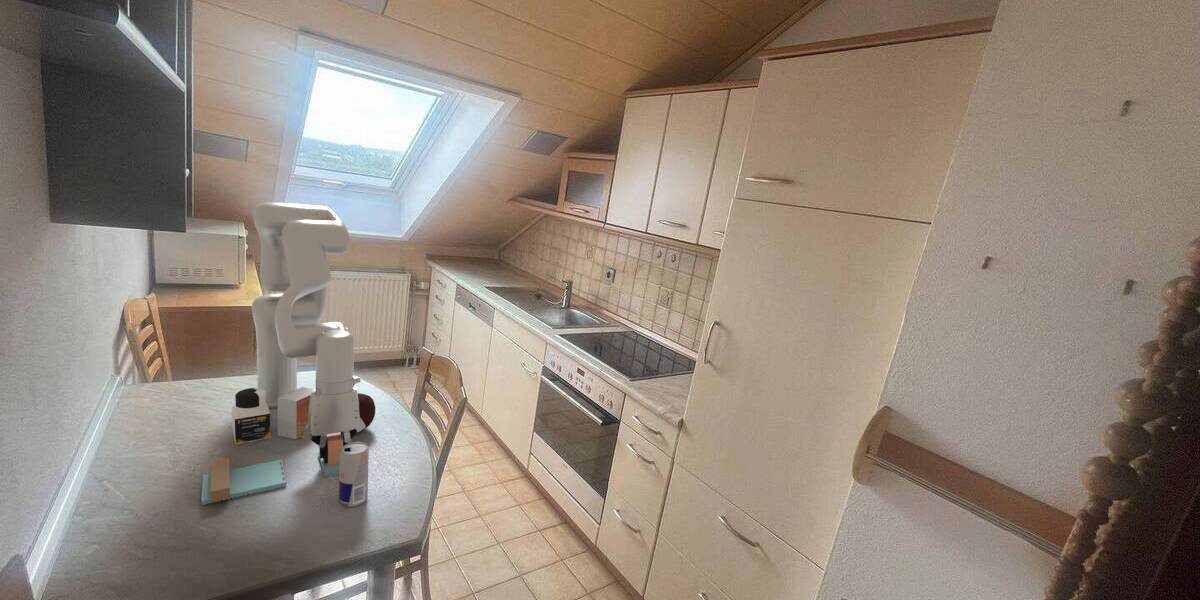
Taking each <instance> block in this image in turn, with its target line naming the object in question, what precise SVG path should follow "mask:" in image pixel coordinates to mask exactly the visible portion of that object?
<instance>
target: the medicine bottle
mask: <svg viewBox="0 0 1200 600" xmlns="http://www.w3.org/2000/svg"><path fill="white" fill-rule="evenodd" d="M234 396H235V397H234V399H235V406H232V407H231V421H232V423H231V424H232V425H231V426H232V436H233V439H234V444H235V445H241V443H242V444H246V442H248V443H252V442H251V441H253V442H257V440H258V441H262V439H263V440H267V438H268V439H271V437H272V434H271V430H272V429H271V427H272V425H271V424H272V423H271V411H270V408H268V406H267V403H266V392H265V391H264V390H263V389H259V388H258V387H249V388H244V389H242V390H240V391H238V392H236V394H235V395H234Z"/></svg>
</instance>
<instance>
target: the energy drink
mask: <svg viewBox="0 0 1200 600" xmlns="http://www.w3.org/2000/svg"><path fill="white" fill-rule="evenodd" d="M368 446H369V445H368V444H367V443H364V442H361V441H354V442H349V443H348V444H346V445H344V446H343V447H342V448H341V451H340V466H339V475H338V476H339V479H338V480H339V481H338V483H339V484H338V486H339V487H338V489H339V490H338V503H339V504H340V505H341V506H343V507H346V508H353V507H354V508H355V507H357V506H360V505H362V504H363V503H365V502H366V501H367V500H368V494H369V493H368V492H369V491H368V490H369V485H368V484H369V456H370V455H369V454H370V453H369V451H370V450H369V447H368Z"/></svg>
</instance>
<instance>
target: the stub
mask: <svg viewBox="0 0 1200 600" xmlns="http://www.w3.org/2000/svg"><path fill="white" fill-rule="evenodd" d="M341 433H342V432H338V433H333V434H327V438H326V443H327V446H328V462H327V463H324V460H323V458H321V459H320V451H319V452H318V459H319V462H320V465H321V469H322V471H323V475H324V477H325V478H326V479H327V478H330V477H334V476H339V466H340V451H341V448H342V447H343V438H342V437H343V435H342V434H341Z"/></svg>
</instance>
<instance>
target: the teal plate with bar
mask: <svg viewBox="0 0 1200 600" xmlns="http://www.w3.org/2000/svg"><path fill="white" fill-rule="evenodd" d="M210 467H211V468H210V473H206V474H203V475H202V483H201V496H200V497H201V499H200V500H201V502H200V503H201V506H205V505H209V503H210V504H212V503H213V502H214V503H218V502H221V500H223V501H227V500H231V499H230V498H232V499H235V498H234V497H236V498H240V497H239V496H241V497H244V496H243V495H245V496H248V495H247V494H250V495H253V493H254V494H258V493H257V492H259V493H263V492H267V491H266V490H268V491H271V490H276V488H277V489H280V488H284V487H285V486H286V487H287V480H286V475H285V470H284V465H283V460H282V459H280V460H273V461H269V462H263V463H258V464H253V465H247V466H243V467H237V468H231V469H230V467H231V465H230V456H225V457H220V458H215V459H211V466H210ZM262 491H263V492H262ZM226 499H227V500H226Z"/></svg>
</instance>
